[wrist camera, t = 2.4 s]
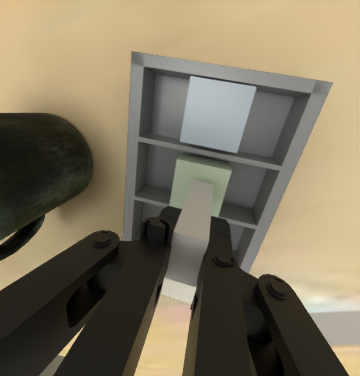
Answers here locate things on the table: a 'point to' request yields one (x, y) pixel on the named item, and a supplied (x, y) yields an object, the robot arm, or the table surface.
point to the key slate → (216, 113)
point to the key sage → (199, 179)
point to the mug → (37, 172)
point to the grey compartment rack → (240, 162)
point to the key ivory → (178, 290)
